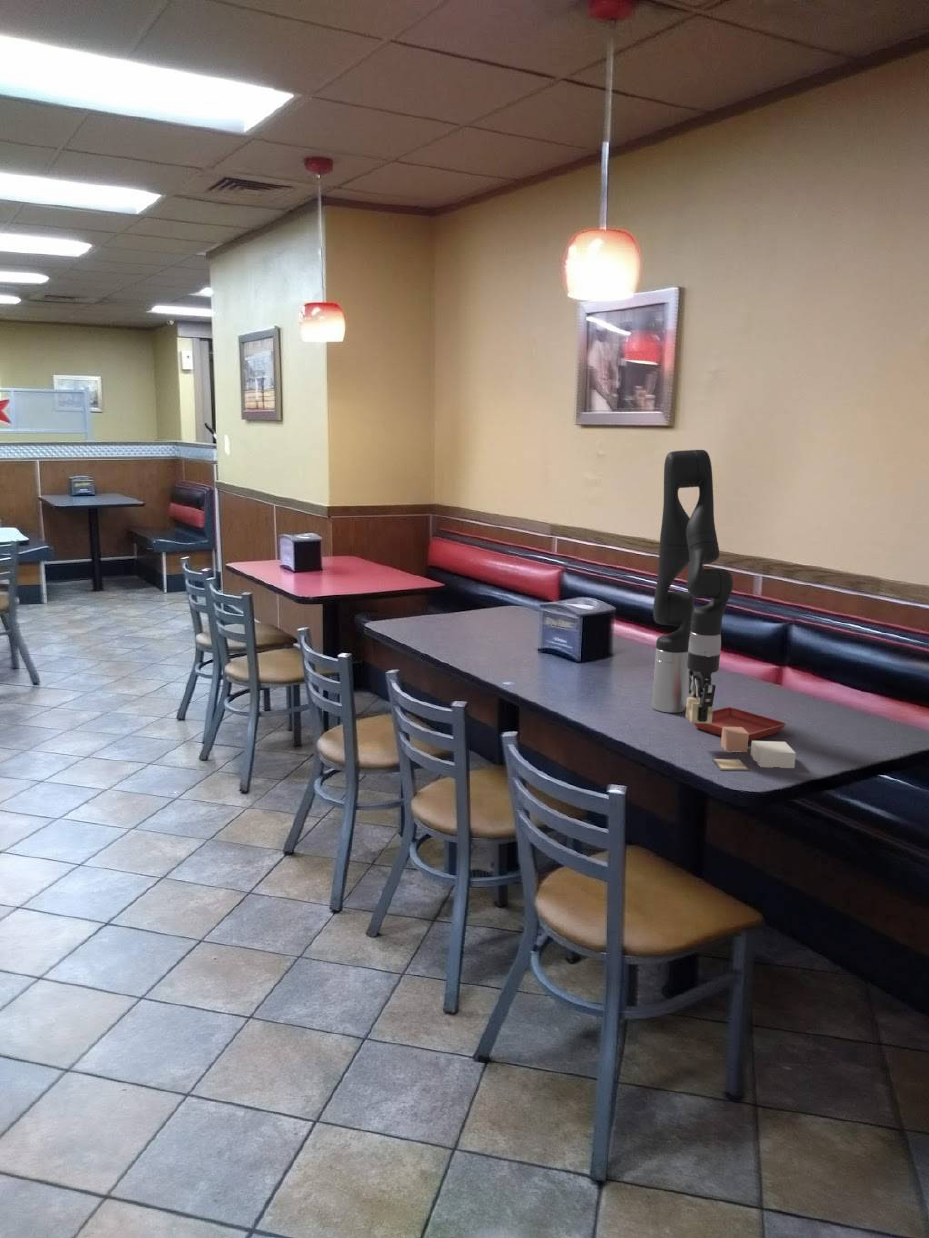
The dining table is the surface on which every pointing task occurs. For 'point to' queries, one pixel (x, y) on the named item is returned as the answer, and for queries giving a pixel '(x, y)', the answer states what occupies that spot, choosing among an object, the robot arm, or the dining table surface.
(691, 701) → the maple cube
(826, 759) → the dining table surface
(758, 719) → the plant saucer
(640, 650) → the dining table surface
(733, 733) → the terracotta cube
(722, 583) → the robot arm
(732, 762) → the tile
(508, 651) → the dining table surface
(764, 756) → the base slab
